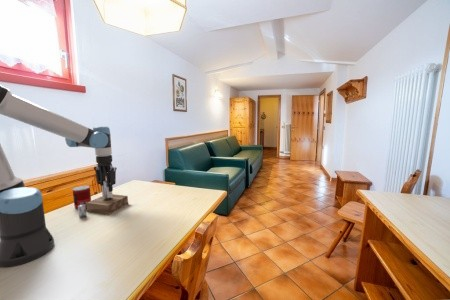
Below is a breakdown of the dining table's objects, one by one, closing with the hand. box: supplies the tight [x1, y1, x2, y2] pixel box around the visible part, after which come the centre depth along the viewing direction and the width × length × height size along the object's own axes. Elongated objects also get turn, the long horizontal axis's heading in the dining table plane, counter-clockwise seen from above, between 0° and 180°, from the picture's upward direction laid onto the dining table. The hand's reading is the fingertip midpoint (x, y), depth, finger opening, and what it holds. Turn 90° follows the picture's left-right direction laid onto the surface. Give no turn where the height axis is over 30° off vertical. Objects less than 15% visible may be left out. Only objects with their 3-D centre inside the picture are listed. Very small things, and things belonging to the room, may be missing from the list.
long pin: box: [103, 179, 111, 201], centre depth 109 cm, size 3×3×14 cm
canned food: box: [72, 185, 92, 210], centre depth 112 cm, size 8×8×11 cm
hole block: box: [86, 193, 129, 216], centre depth 110 cm, size 14×14×5 cm
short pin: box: [77, 204, 87, 219], centre depth 99 cm, size 3×3×6 cm
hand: (107, 196), depth 109 cm, fingers closed on long pin, 3 cm apart
